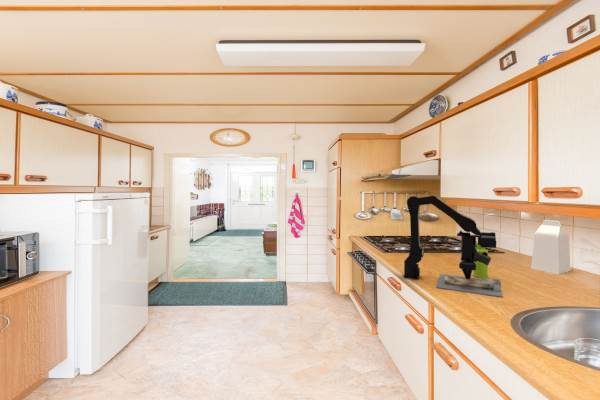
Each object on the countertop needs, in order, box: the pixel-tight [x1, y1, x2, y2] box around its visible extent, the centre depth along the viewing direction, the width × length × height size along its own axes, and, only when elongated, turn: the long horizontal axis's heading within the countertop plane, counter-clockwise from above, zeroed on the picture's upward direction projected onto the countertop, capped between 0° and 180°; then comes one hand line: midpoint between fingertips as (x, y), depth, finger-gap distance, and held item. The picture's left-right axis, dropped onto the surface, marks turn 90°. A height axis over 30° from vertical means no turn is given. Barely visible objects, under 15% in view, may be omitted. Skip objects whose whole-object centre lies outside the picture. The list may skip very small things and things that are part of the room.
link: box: [445, 276, 490, 288], centre depth 128 cm, size 17×4×3 cm, turn 64°
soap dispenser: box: [473, 241, 489, 279], centre depth 141 cm, size 6×7×20 cm
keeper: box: [480, 277, 502, 292], centre depth 123 cm, size 7×5×4 cm
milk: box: [530, 219, 571, 275], centre depth 151 cm, size 12×12×26 cm
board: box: [435, 273, 504, 298], centre depth 130 cm, size 24×22×1 cm
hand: (468, 280), depth 131 cm, fingers closed
